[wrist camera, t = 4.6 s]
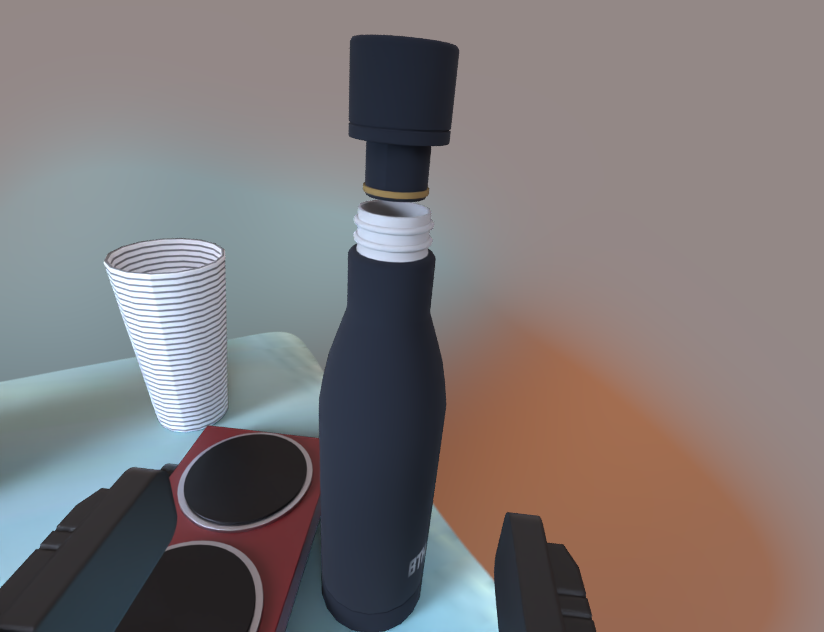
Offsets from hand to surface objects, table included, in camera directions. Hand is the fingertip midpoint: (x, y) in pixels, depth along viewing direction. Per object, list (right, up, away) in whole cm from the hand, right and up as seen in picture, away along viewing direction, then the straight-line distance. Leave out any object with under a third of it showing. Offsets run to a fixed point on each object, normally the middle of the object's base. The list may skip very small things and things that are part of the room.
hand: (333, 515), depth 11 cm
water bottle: (-1, -13, +19) cm, 22 cm away
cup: (-19, -4, +32) cm, 37 cm away
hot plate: (-11, -11, +19) cm, 24 cm away
